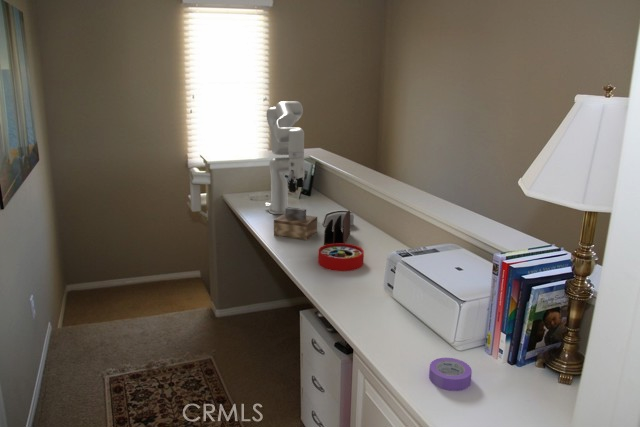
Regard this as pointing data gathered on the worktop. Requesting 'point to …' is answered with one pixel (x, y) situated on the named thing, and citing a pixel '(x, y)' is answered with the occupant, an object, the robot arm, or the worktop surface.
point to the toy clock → (340, 257)
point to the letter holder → (337, 230)
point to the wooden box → (295, 230)
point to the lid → (295, 217)
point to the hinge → (335, 215)
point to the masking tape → (450, 381)
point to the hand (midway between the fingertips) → (296, 189)
